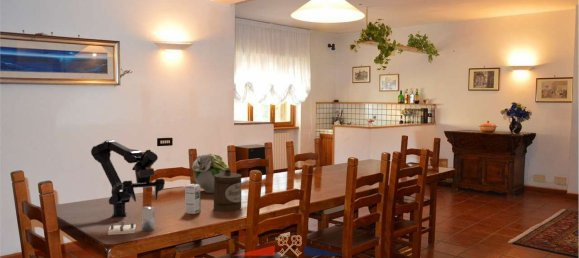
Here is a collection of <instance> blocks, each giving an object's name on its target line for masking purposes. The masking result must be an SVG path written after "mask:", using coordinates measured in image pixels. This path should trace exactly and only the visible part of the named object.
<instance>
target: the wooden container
mask: <svg viewBox="0 0 579 258" xmlns="http://www.w3.org/2000/svg"><path fill="white" fill-rule="evenodd" d="M225 171H226V172H225V173H220V174H216V175H214V193H213V209H214V210H215V211H218V210H220V211H219V212H235V211H238V209H239V210H240V208H241V209H242V174H240V173H234V172H233V173H232V169H231V168H230V167H228V168H226V169H225ZM234 210H235V211H234Z"/></svg>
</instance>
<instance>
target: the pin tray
mask: <svg viewBox="0 0 579 258" xmlns="http://www.w3.org/2000/svg"><path fill="white" fill-rule="evenodd" d="M120 223H121V224H120V225H114V223H113V224H112V223H111V224H110V226H109V228H108V231H107V235H108V236H112V235H124V234H125V235H126V234H135V233H136V227H137V224H136V223H135V224H134V222H131V223H130V224H125V221H124V220H123V221H122V220H121V222H120Z"/></svg>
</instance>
